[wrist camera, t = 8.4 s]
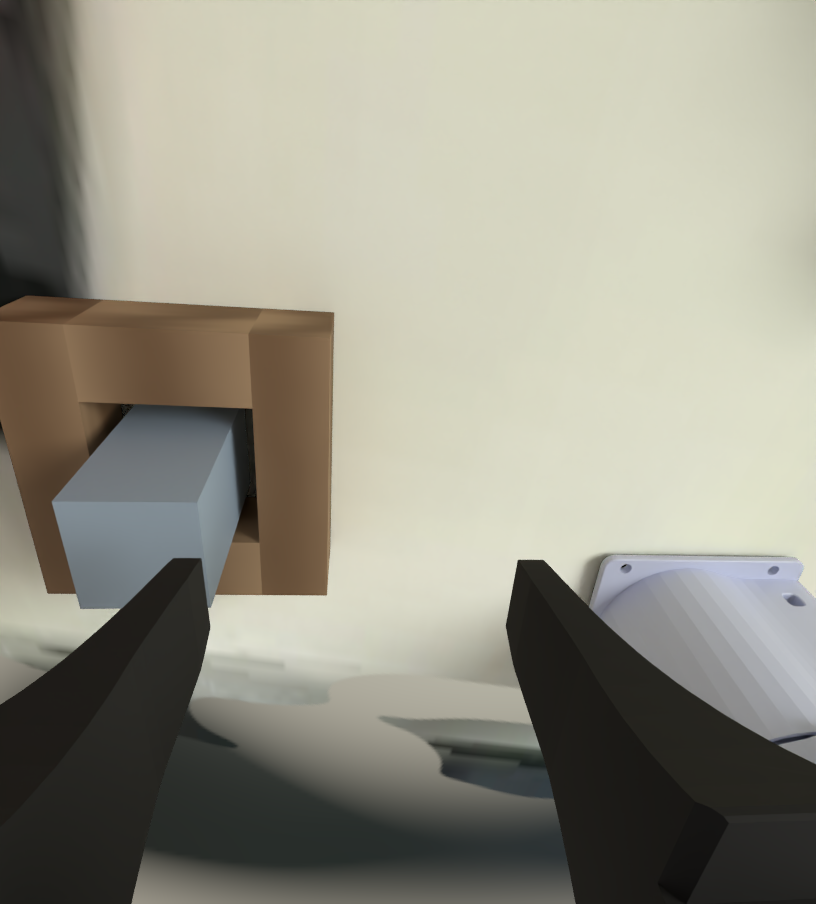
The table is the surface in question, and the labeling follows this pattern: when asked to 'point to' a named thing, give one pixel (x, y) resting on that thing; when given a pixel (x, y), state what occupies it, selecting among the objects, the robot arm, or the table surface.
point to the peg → (154, 500)
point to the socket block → (178, 384)
